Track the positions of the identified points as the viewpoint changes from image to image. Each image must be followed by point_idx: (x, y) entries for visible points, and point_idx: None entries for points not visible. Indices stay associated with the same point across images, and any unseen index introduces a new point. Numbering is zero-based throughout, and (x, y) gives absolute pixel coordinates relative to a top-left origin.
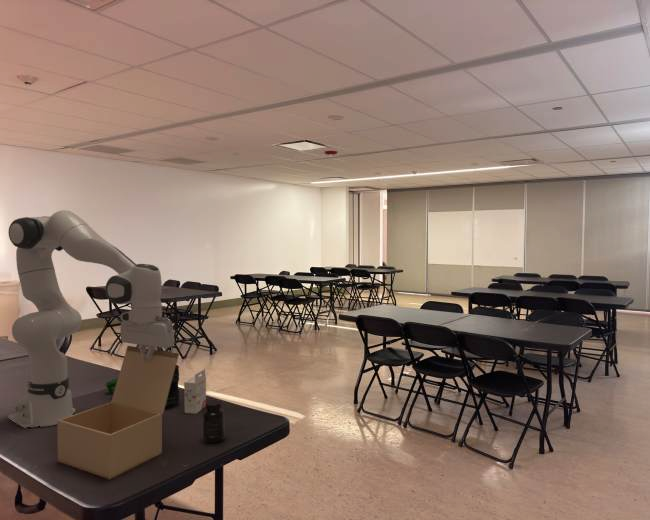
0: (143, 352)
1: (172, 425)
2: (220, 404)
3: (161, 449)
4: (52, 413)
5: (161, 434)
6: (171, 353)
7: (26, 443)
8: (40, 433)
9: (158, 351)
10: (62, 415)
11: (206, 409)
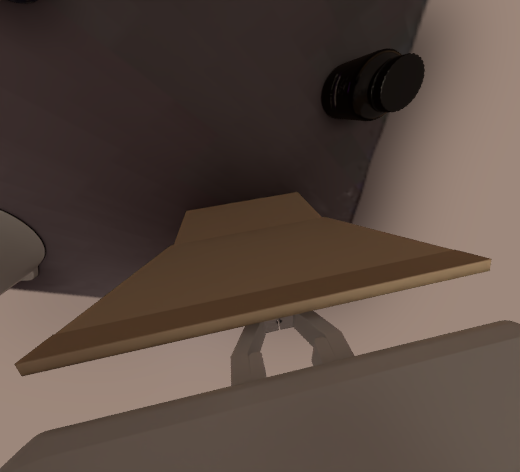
0: (264, 337)
1: (208, 88)
2: (421, 71)
3: (299, 194)
4: (18, 259)
5: (308, 204)
6: (439, 276)
7: (117, 284)
8: (80, 265)
9: (338, 299)
10: (17, 238)
11: (379, 112)
